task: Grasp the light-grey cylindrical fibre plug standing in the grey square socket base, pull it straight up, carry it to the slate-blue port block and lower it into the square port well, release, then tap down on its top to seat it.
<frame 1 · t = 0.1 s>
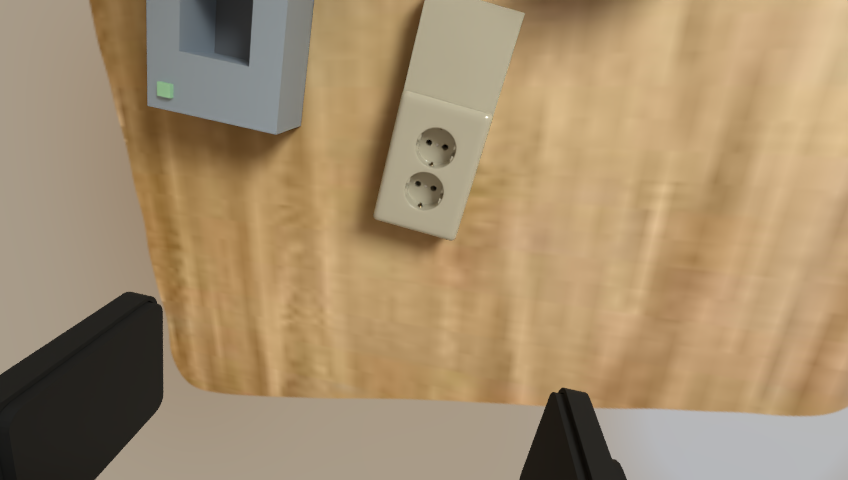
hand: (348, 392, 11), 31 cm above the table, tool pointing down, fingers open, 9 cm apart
electrical outlet: (444, 119, 39), on the table
port block: (249, 26, 38), on the table
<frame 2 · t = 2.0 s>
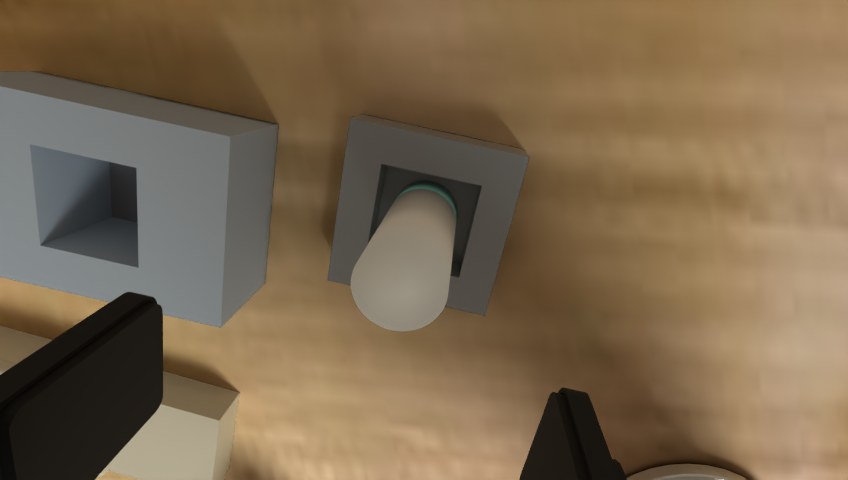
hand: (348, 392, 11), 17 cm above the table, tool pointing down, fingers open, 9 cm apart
electrical outlet: (121, 393, 34), on the table
grey square socket base: (426, 209, 27), on the table
port block: (158, 183, 28), on the table
plug: (425, 211, 26), resting on grey square socket base
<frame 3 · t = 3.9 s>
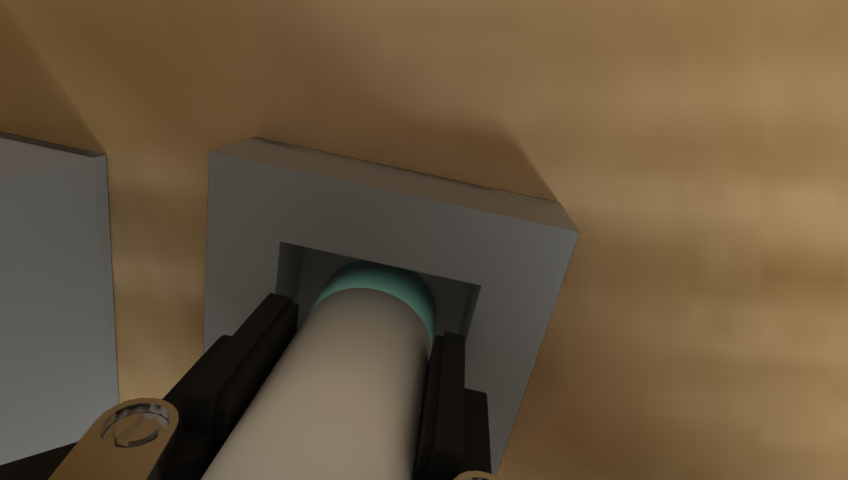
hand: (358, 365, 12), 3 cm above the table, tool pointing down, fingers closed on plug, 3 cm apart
grey square socket base: (381, 304, 15), on the table
plug: (378, 311, 15), resting on grey square socket base, touching gripper
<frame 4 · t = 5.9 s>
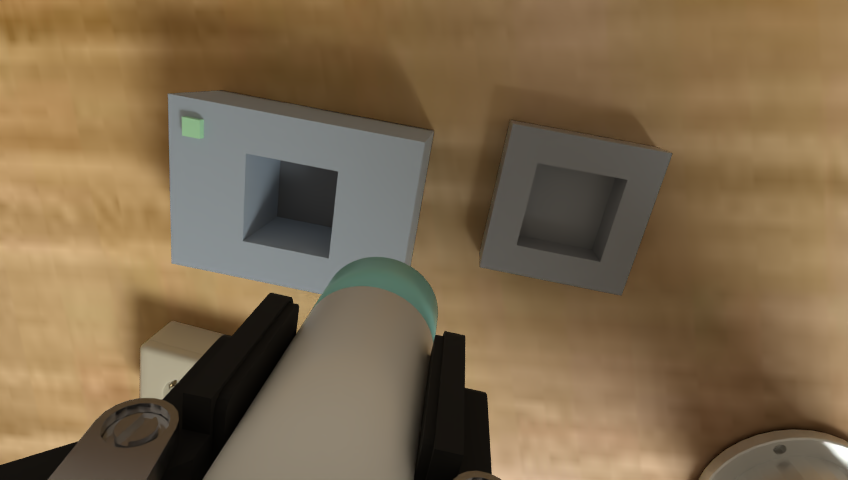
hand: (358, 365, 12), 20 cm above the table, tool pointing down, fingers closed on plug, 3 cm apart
electrical outlet: (277, 381, 38), on the table
grey square socket base: (562, 203, 30), on the table
port block: (319, 185, 31), on the table
plug: (380, 309, 15), point 17 cm above the table, touching gripper
when the fingers open (6 cm above the table, at t = 8.3 s): plug drops 3 cm, resting on port block.
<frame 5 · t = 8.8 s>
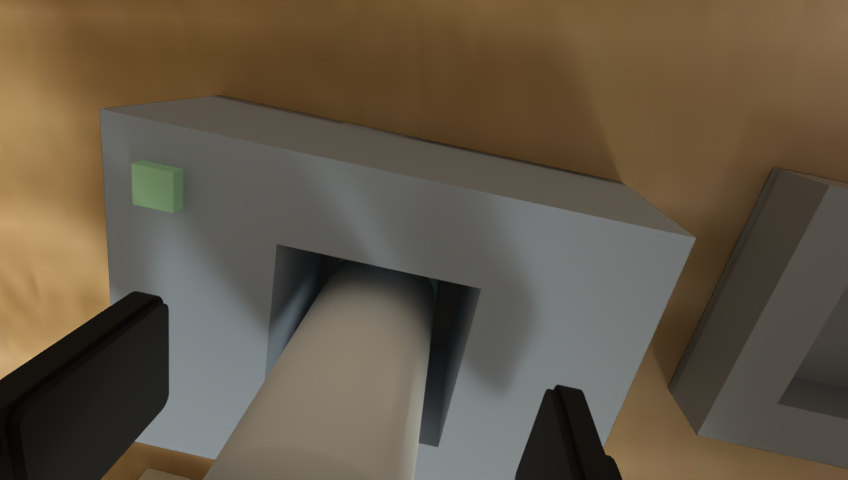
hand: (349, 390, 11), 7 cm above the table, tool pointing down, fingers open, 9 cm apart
grey square socket base: (839, 315, 17), on the table
port block: (393, 269, 18), on the table
plug: (389, 273, 17), point 1 cm above the table, touching port block
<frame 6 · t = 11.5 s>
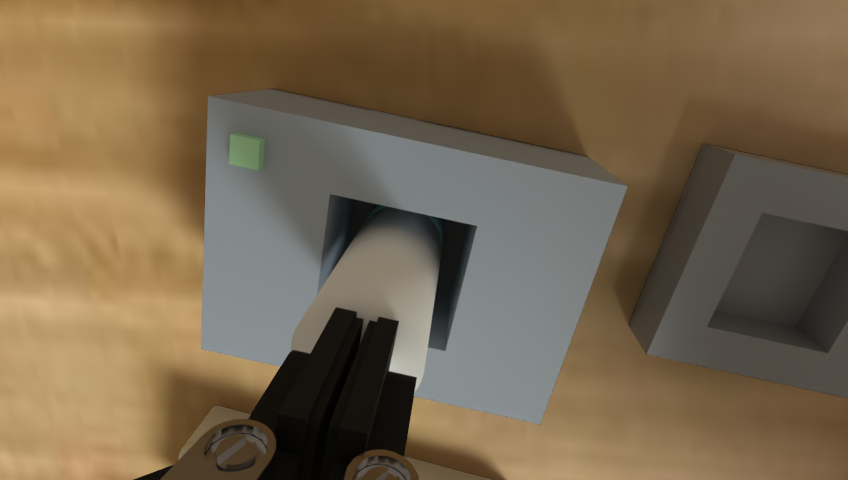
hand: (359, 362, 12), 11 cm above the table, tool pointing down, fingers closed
grey square socket base: (760, 262, 21), on the table
port block: (408, 227, 22), on the table
plug: (405, 230, 22), point 1 cm above the table, touching port block
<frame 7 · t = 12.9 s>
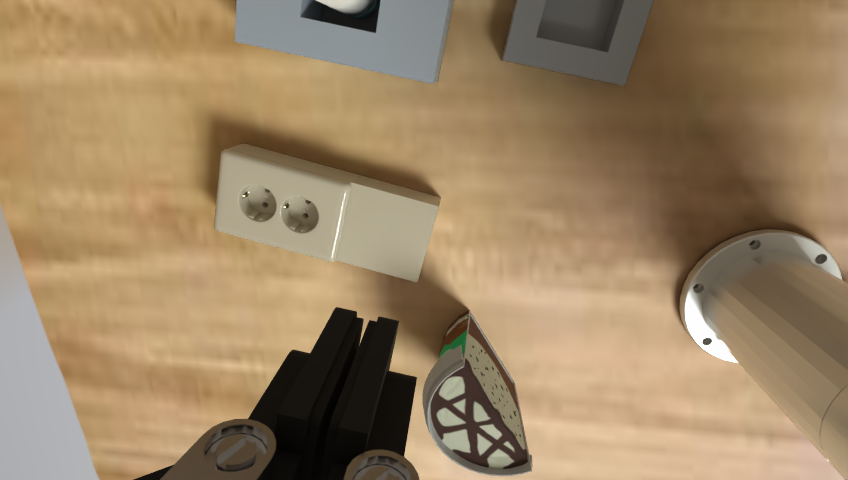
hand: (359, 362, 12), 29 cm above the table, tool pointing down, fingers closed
electrical outlet: (335, 206, 42), on the table
food container: (465, 358, 46), on the table
grey square socket base: (575, 8, 34), on the table
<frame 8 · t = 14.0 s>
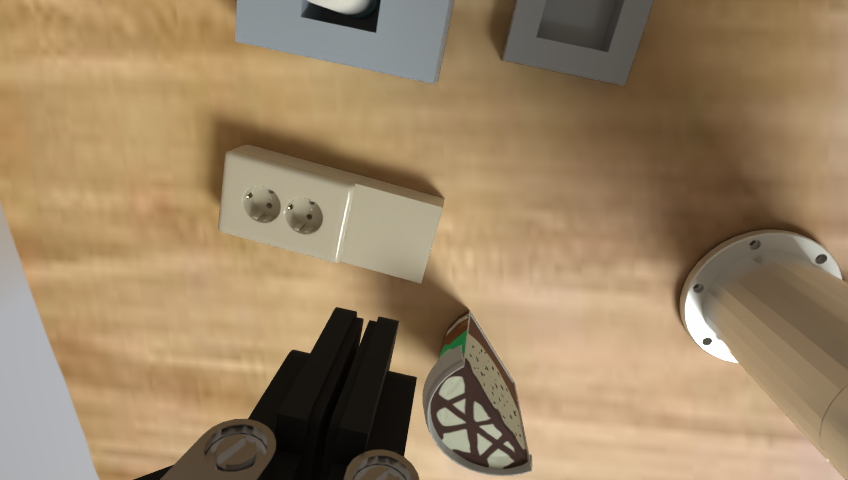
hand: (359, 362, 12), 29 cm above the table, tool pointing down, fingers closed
electrical outlet: (338, 207, 42), on the table
food container: (465, 358, 46), on the table
grey square socket base: (575, 8, 34), on the table
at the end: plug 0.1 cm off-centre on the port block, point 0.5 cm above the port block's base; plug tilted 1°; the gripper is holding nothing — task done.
